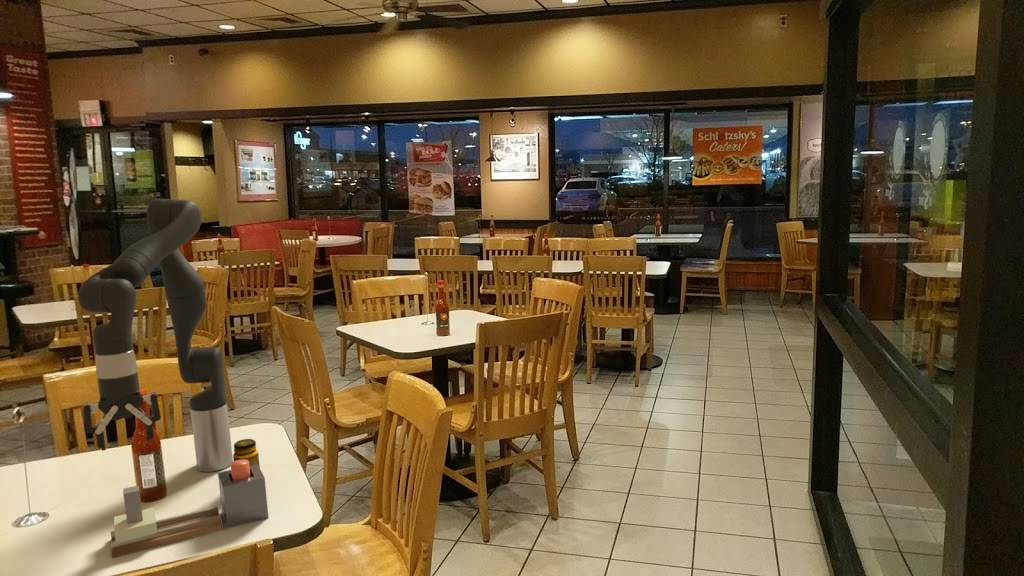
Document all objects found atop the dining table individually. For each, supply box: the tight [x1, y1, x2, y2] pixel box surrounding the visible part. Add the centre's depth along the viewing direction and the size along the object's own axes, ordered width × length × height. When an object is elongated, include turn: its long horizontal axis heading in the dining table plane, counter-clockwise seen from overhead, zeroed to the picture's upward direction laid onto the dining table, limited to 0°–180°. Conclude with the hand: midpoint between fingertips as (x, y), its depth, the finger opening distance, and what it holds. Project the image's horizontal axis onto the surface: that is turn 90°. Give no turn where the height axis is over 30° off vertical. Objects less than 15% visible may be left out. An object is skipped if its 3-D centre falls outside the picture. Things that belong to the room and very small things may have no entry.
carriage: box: [113, 485, 158, 543], centre depth 156 cm, size 8×8×10 cm
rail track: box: [110, 505, 224, 559], centre depth 160 cm, size 9×22×2 cm, turn 119°
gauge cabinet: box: [217, 464, 269, 529], centre depth 167 cm, size 9×9×10 cm
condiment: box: [232, 438, 266, 487], centre depth 182 cm, size 7×8×12 cm
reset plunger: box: [230, 460, 250, 481], centre depth 166 cm, size 4×4×6 cm
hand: (126, 445), depth 153 cm, fingers open, 8 cm apart
